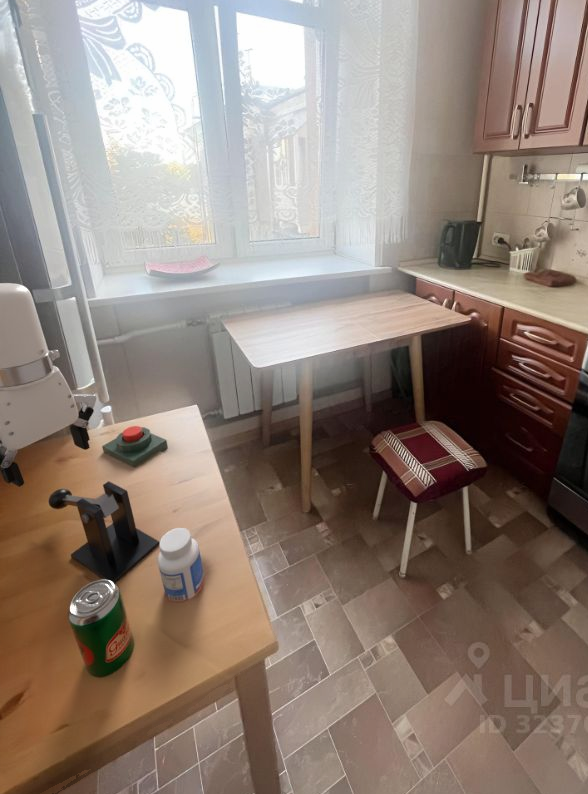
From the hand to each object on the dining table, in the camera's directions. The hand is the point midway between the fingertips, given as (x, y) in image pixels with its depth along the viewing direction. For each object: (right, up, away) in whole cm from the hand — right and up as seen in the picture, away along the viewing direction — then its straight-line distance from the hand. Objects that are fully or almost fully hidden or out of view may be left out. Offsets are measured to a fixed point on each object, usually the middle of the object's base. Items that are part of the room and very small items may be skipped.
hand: (51, 463), depth 64 cm
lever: (+6, -7, 0) cm, 9 cm away
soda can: (+19, -20, -14) cm, 31 cm away
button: (+1, -1, +21) cm, 21 cm away
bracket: (+11, -14, -1) cm, 18 cm away
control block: (+1, -5, +22) cm, 23 cm away
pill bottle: (+24, -17, -5) cm, 30 cm away
